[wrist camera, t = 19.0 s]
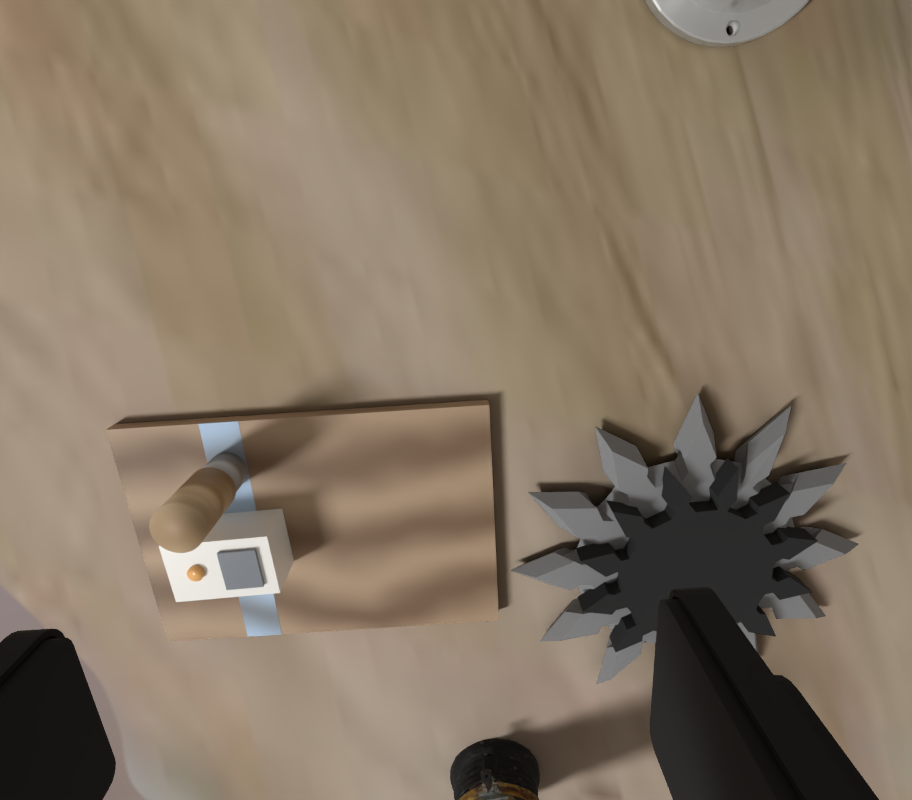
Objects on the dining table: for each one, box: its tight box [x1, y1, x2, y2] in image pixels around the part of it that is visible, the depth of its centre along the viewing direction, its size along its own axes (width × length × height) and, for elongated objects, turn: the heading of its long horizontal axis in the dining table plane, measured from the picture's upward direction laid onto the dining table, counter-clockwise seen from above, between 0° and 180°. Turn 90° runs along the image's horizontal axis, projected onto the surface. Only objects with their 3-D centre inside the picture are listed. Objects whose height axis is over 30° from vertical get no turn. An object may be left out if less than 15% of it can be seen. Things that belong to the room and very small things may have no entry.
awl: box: [149, 453, 248, 553], centre depth 39 cm, size 3×3×8 cm
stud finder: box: [159, 508, 294, 602], centre depth 43 cm, size 5×8×4 cm, turn 95°
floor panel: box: [106, 400, 499, 642], centre depth 45 cm, size 20×29×1 cm
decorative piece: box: [511, 394, 858, 684], centre depth 46 cm, size 30×4×30 cm
